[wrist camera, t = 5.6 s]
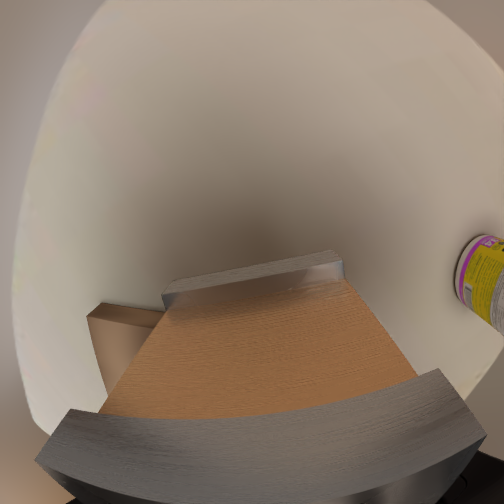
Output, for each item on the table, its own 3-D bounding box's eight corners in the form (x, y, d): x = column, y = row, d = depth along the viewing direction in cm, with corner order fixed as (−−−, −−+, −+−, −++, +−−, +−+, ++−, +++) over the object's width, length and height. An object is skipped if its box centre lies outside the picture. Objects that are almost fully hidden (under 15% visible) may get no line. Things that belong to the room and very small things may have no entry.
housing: (332, 249, 8) (487, 435, 1) (344, 421, 10) (377, 554, 3) (174, 280, 8) (34, 460, 2) (234, 437, 10) (218, 570, 4)
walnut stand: (247, 320, 20) (245, 339, 17) (240, 423, 23) (239, 443, 20) (101, 302, 20) (86, 316, 17) (125, 404, 23) (117, 419, 20)
